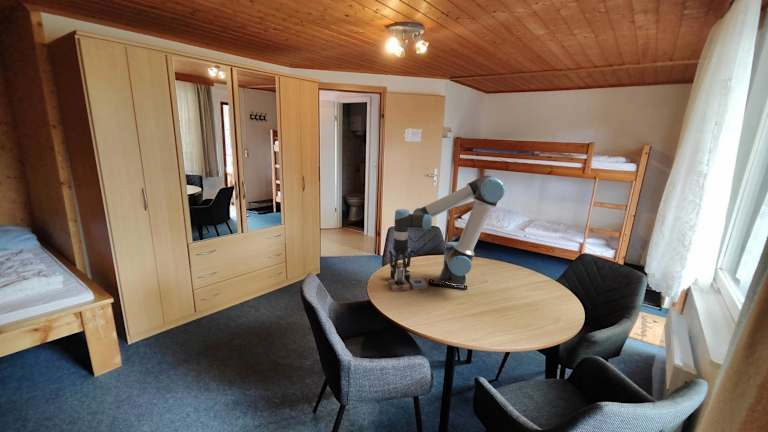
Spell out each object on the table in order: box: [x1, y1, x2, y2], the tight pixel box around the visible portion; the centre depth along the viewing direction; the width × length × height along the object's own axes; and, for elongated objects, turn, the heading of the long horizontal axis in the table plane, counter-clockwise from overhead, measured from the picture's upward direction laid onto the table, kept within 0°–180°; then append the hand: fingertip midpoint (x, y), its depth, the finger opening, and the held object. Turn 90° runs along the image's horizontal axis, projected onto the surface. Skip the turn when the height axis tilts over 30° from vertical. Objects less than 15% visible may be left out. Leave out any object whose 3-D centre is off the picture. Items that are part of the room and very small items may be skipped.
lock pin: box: [396, 261, 404, 285], centre depth 180 cm, size 4×4×13 cm
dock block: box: [387, 279, 411, 293], centre depth 181 cm, size 10×10×2 cm
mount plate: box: [409, 278, 428, 290], centre depth 184 cm, size 8×8×2 cm
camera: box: [390, 267, 412, 285], centre depth 192 cm, size 13×8×9 cm, turn 59°
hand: (399, 278), depth 181 cm, fingers open, 3 cm apart
